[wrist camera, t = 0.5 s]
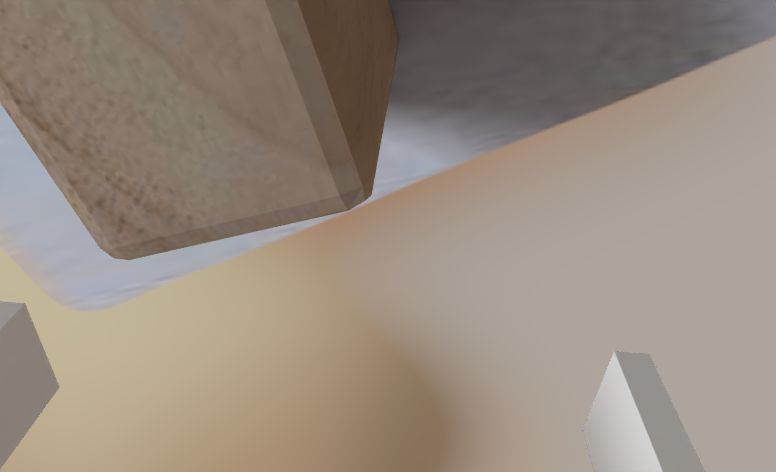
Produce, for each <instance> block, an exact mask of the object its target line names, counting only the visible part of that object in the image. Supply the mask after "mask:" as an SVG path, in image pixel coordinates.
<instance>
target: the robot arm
mask: <svg viewBox="0 0 776 472" xmlns="http://www.w3.org/2000/svg"><path fill="white" fill-rule="evenodd" d="M58 388H59V385H58V382H57V380H56V377H55V375H54V373H53V370H52V368H51V365H50V363H49V360H48V358H47V356H46V353H45V351H44V349H43V346H42V344H41V341H40V339H39V336H38V334H37V331H36V329H35V327H34V324H33V322H32V319H31V317H30V315H29V312H28V310H27V307H26V305H25V303H13V302H1V301H0V469H1V467H2V466H3V465H4V463H5V462H6V460H7V459H8V458H9V456H10V455H11V454H12V452H13V451H14V449H15V448H16V446H17V445H18V444H19V443H20V441H21V440H22V438H23V437H24V436H25V434H26V433H27V431H28V430H29V429H30V427H31V426H32V424H33V423H34V422H35V420H36V419H37V418H38V416H39V415H40V413H41V412H42V411H43V409H44V408H45V406H46V405H47V404H48V402H49V401H50V399H51V398H52V397H53V395H54V394H55V393H56V391H57V390H58ZM583 435H584V438H585V442H586V445H587V448H588V452H589V455H590V459H591V463H592V466H593V470H594V472H705V470H704V468H703V466H702V464H701V462H700V460H699V458H698V456H697V453H696V452H695V449H694V447H693V445H692V443H691V441H690V439H689V437H688V434H687V433H686V430H685V428H684V426H683V424H682V422H681V420H680V418H679V416H678V413H677V411H676V409H675V407H674V405H673V403H672V401H671V399H670V396H669V395H668V392H667V390H666V388H665V386H664V384H663V382H662V380H661V377H660V375H659V373H658V371H657V369H656V367H655V365H654V363H653V361H652V358H651V357H650V354H643V353H630V352H618V351H614V354H613V356H612V358H611V361H610V363H609V366H608V368H607V371H606V373H605V376H604V378H603V381H602V383H601V386H600V388H599V391H598V393H597V396H596V398H595V401H594V403H593V406H592V408H591V411H590V413H589V416H588V418H587V420H586V423H585V426H584V428H583Z"/></svg>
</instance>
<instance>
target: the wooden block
mask: <svg viewBox="0 0 776 472" xmlns="http://www.w3.org/2000/svg"><path fill="white" fill-rule="evenodd" d="M397 47H398V34H397V31H396V27H395V23H394V20H393V16H392V12H391V8H390V5H389V1H388V0H0V103H1V104H2V106H3V107H4V109H5V110H6V112H7V113H8V115H9V116H10V118H11V119H12V120H13V122H14V123H15V125H16V126H17V128H18V129H19V131H20V132H21V134H22V135H23V137H24V138H25V139H26V141H27V142H28V144H29V145H30V147H31V148H32V150H33V151H34V153H35V154H36V155H37V157H38V158H39V160H40V161H41V163H42V164H43V166H44V167H45V169H46V170H47V172H48V173H49V174H50V176H51V177H52V179H53V180H54V182H55V183H56V185H57V186H58V188H59V189H60V190H61V192H62V193H63V195H64V196H65V198H66V199H67V201H68V202H69V204H70V205H71V207H72V208H73V209H74V211H75V212H76V214H77V215H78V217H79V218H80V220H81V221H82V223H83V224H84V225H85V227H86V228H87V230H88V231H89V233H90V234H91V236H92V237H93V239H94V240H95V242H96V243H97V244H98V246H99V247H100V248H101V249H102V250H104V251H105V252H106V253H108V254H109V255H110V256H112V257H113V258H116V259H124V260H131V259H136V258H140V257H145V256H149V255H153V254H158V253H162V252H167V251H171V250H175V249H180V248H184V247H189V246H193V245H198V244H202V243H206V242H211V241H215V240H220V239H224V238H229V237H233V236H237V235H242V234H246V233H251V232H255V231H260V230H264V229H268V228H273V227H277V226H282V225H286V224H291V223H295V222H299V221H304V220H308V219H313V218H317V217H322V216H326V215H330V214H335V213H339V212H344V211H348V210H350V209H352V208H353V207H355V206H357V205H359V204H360V203H362V202H364V201H365V200H366V199H367V198H369V197H370V196H371V195H372V189H373V183H374V178H375V172H376V167H377V161H378V155H379V150H380V144H381V138H382V133H383V127H384V122H385V116H386V110H387V105H388V99H389V94H390V88H391V82H392V77H393V71H394V65H395V60H396V54H397Z"/></svg>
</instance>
